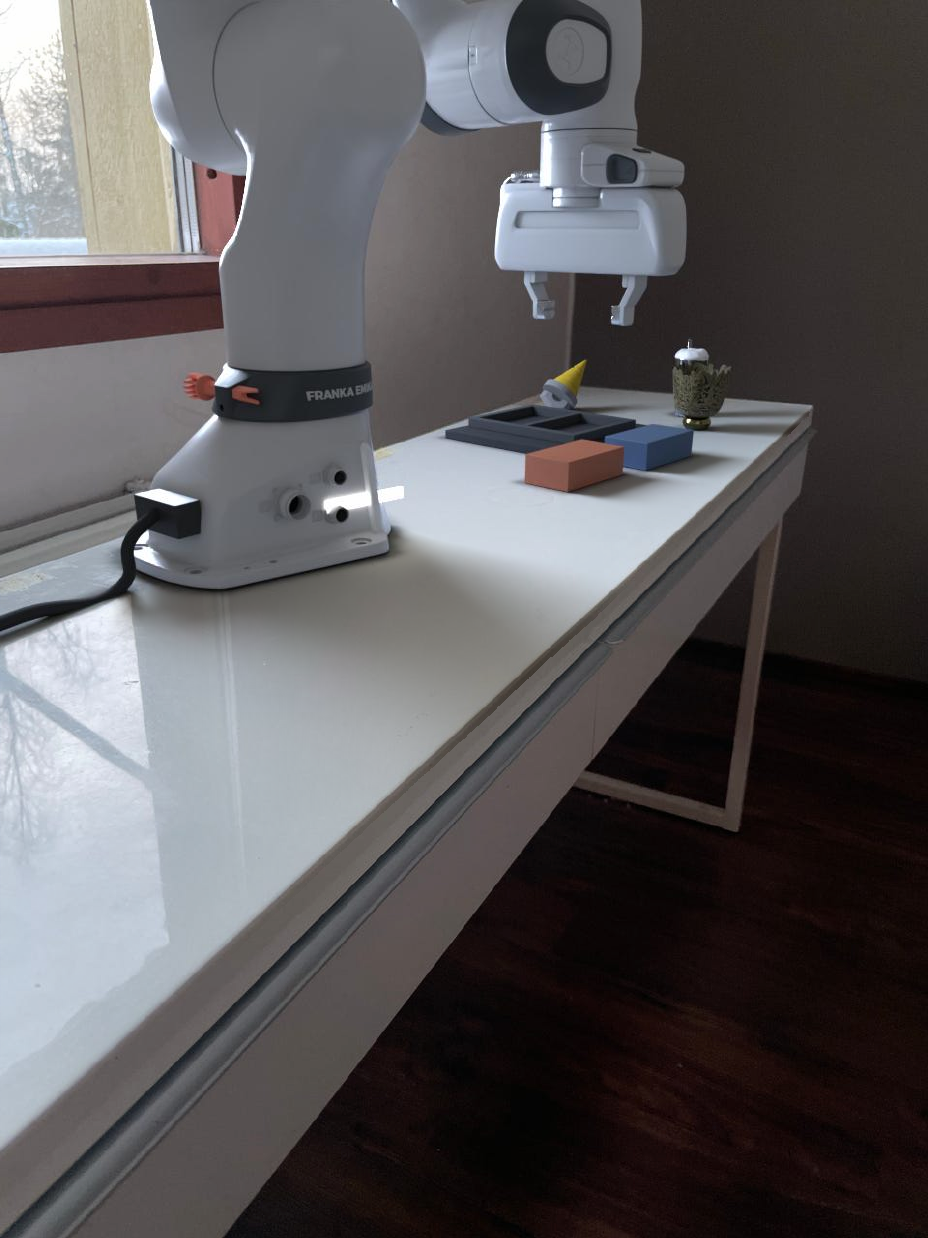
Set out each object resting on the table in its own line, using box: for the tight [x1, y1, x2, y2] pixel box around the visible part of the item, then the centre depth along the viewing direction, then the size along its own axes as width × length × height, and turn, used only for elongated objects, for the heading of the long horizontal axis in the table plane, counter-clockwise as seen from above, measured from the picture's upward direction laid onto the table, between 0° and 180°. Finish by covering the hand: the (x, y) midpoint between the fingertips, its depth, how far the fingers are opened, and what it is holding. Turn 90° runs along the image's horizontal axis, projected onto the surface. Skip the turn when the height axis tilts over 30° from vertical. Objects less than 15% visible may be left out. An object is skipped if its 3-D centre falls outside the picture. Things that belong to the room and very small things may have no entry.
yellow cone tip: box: [539, 359, 588, 410], centre depth 136 cm, size 5×5×10 cm
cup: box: [671, 362, 733, 431], centre depth 124 cm, size 8×7×8 cm
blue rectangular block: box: [605, 423, 695, 472], centre depth 108 cm, size 10×6×3 cm, turn 138°
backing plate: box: [444, 403, 648, 454], centre depth 120 cm, size 20×18×2 cm
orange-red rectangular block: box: [523, 439, 624, 493], centre depth 99 cm, size 10×6×3 cm, turn 138°
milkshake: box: [674, 338, 710, 418], centre depth 132 cm, size 4×5×10 cm
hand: (581, 321), depth 94 cm, fingers open, 8 cm apart
